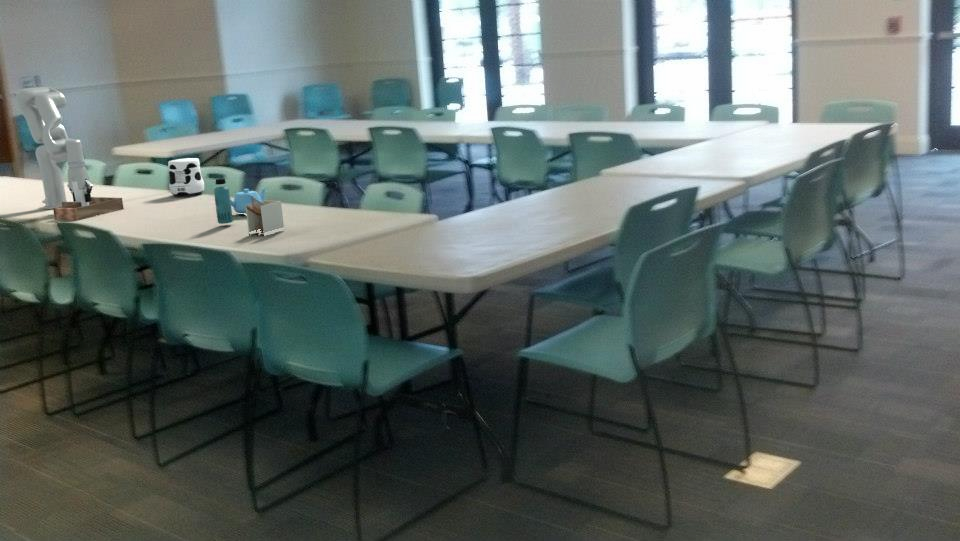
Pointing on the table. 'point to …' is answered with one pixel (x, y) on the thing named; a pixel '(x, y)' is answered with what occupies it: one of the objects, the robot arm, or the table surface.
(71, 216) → the angular wooden frame
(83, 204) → the white cup
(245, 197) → the teapot
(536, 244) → the table surface
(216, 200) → the beverage bottle
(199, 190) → the milk container
